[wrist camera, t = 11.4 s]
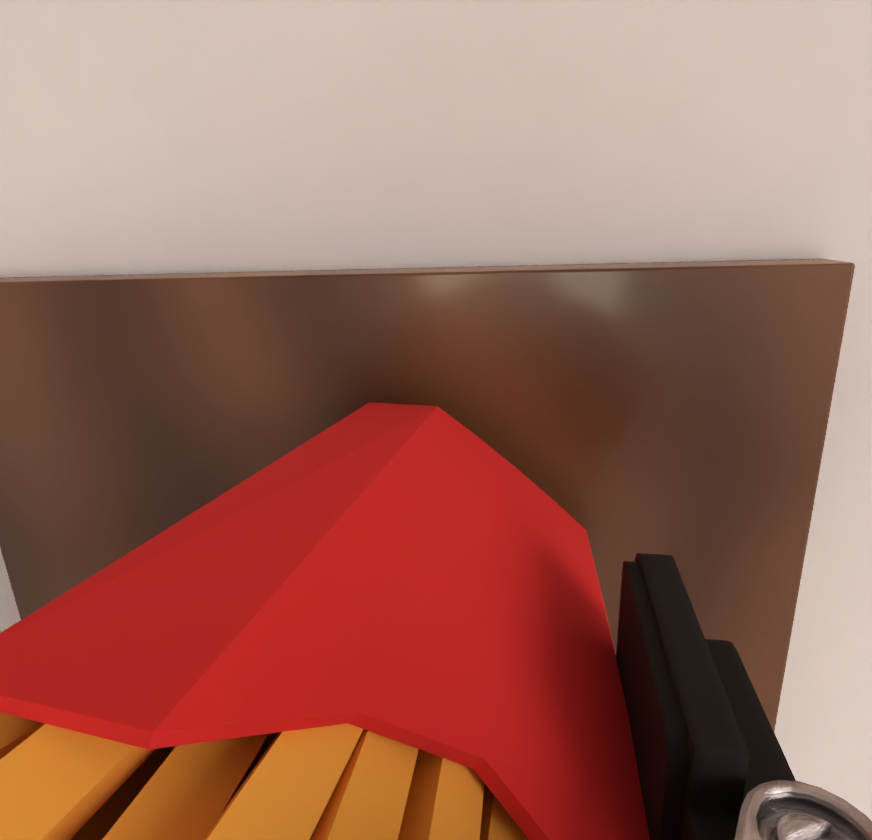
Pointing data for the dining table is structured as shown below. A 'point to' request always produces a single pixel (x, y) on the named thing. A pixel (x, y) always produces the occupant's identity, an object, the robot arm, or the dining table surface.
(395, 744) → the french fries
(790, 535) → the cutting board
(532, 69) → the dining table surface
